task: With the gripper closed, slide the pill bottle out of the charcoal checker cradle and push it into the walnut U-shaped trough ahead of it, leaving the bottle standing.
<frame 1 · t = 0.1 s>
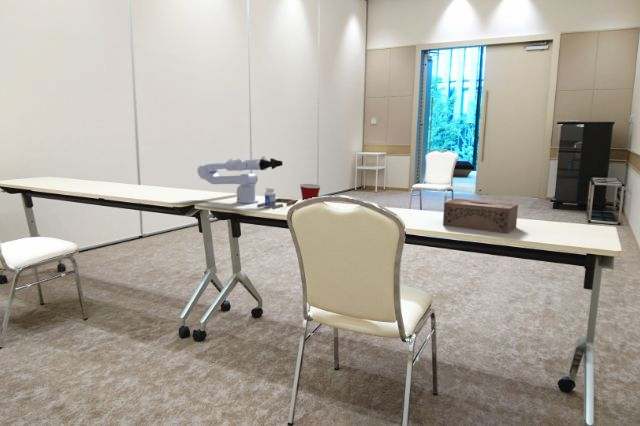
hand: (278, 163, 236), 22 cm above the table, tool horizontal, fingers open, 7 cm apart
checker cradle: (270, 206, 235), on the table
pill bottle: (270, 207, 235), on the table
tissue box cover: (479, 227, 191), on the table
walnut trough: (283, 203, 247), on the table
plastic cup: (310, 208, 231), on the table
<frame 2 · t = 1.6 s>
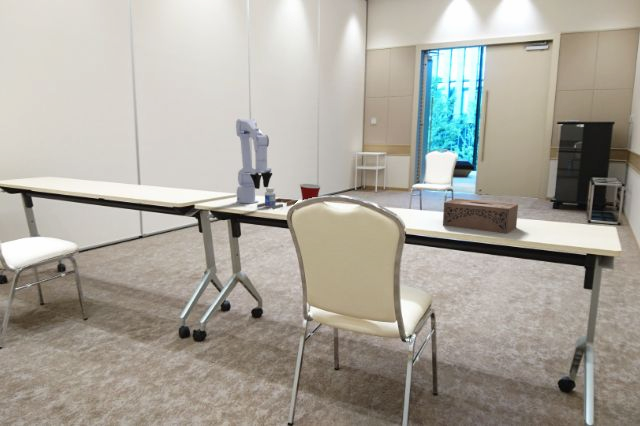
hand: (261, 187, 227), 10 cm above the table, tool pointing down, fingers open, 7 cm apart
nothing on the table moved.
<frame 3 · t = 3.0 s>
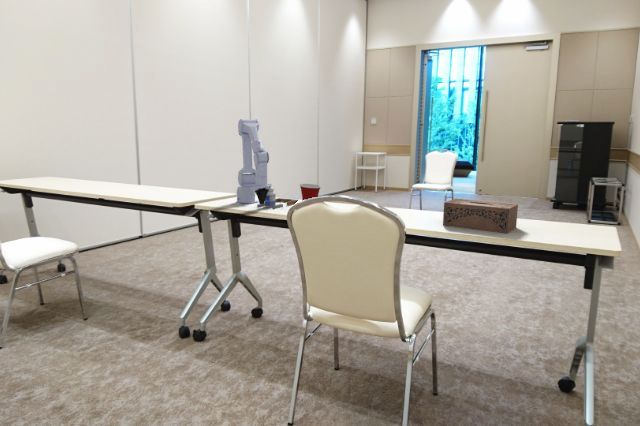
hand: (261, 203, 228), 3 cm above the table, tool pointing down, fingers closed
nothing on the table moved.
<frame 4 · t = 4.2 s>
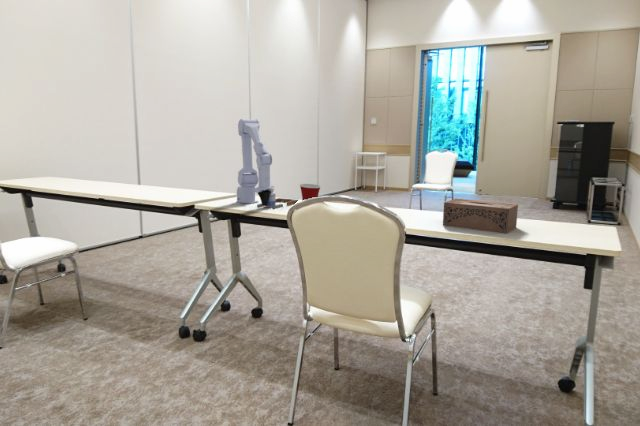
hand: (264, 205, 231), 1 cm above the table, tool pointing down, fingers closed
pill bottle: (270, 207, 235), on the table, touching gripper
everything else where it was.
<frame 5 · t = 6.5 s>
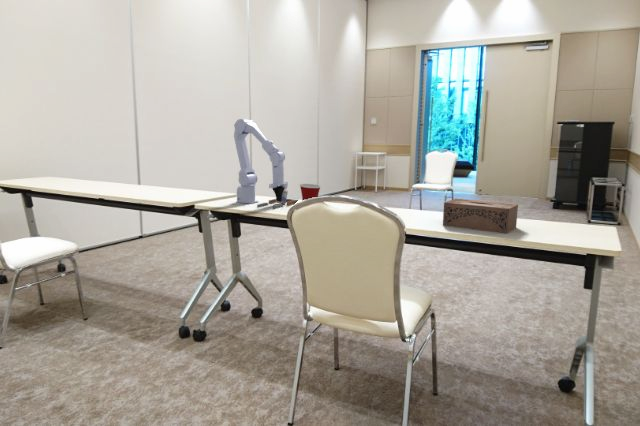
hand: (279, 200, 240), 2 cm above the table, tool pointing down, fingers closed, pressing on pill bottle
pill bottle: (280, 203, 243), on the table, touching gripper
everything else where it was.
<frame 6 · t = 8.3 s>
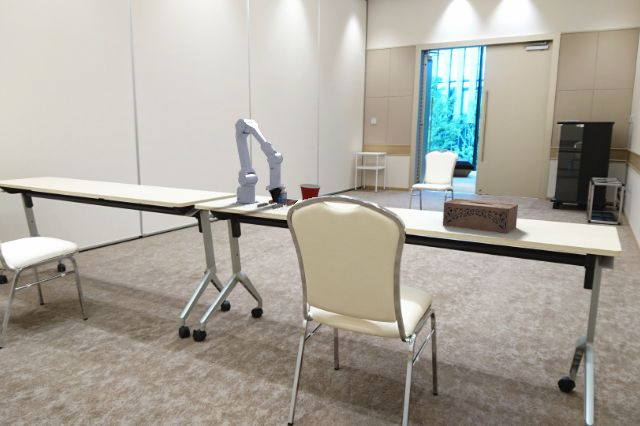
hand: (275, 202, 239), 1 cm above the table, tool pointing down, fingers closed
pill bottle: (281, 204, 244), on the table
everything else where it was.
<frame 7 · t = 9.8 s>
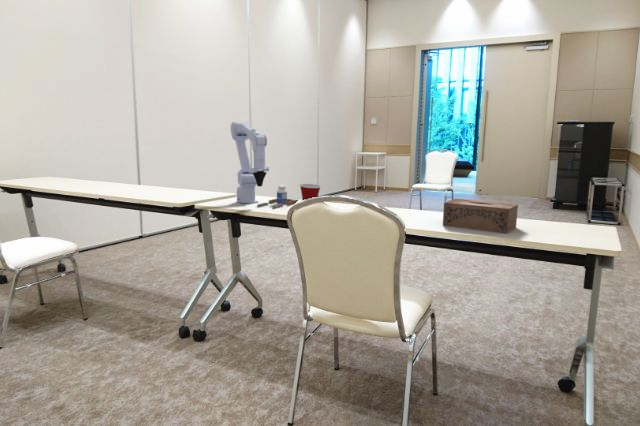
hand: (259, 186, 234), 10 cm above the table, tool pointing down, fingers closed
nothing on the table moved.
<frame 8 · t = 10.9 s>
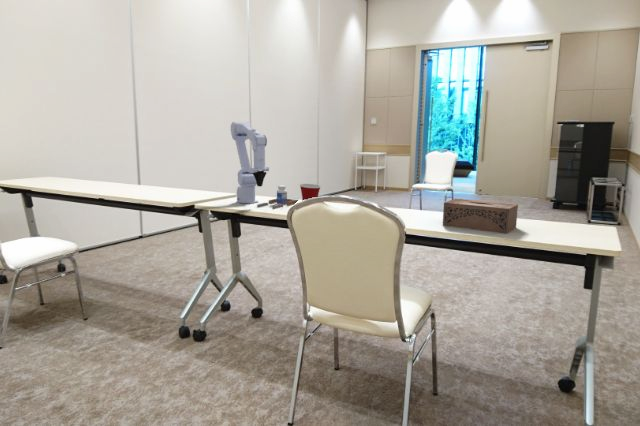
hand: (259, 186, 234), 10 cm above the table, tool pointing down, fingers closed
nothing on the table moved.
at the end: pill bottle inside the target area on the walnut trough (2.0 cm from its centre), point 0.0 cm above the walnut trough's base; pill bottle tilted 0°; pill bottle moved 10.7 cm from its start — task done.
